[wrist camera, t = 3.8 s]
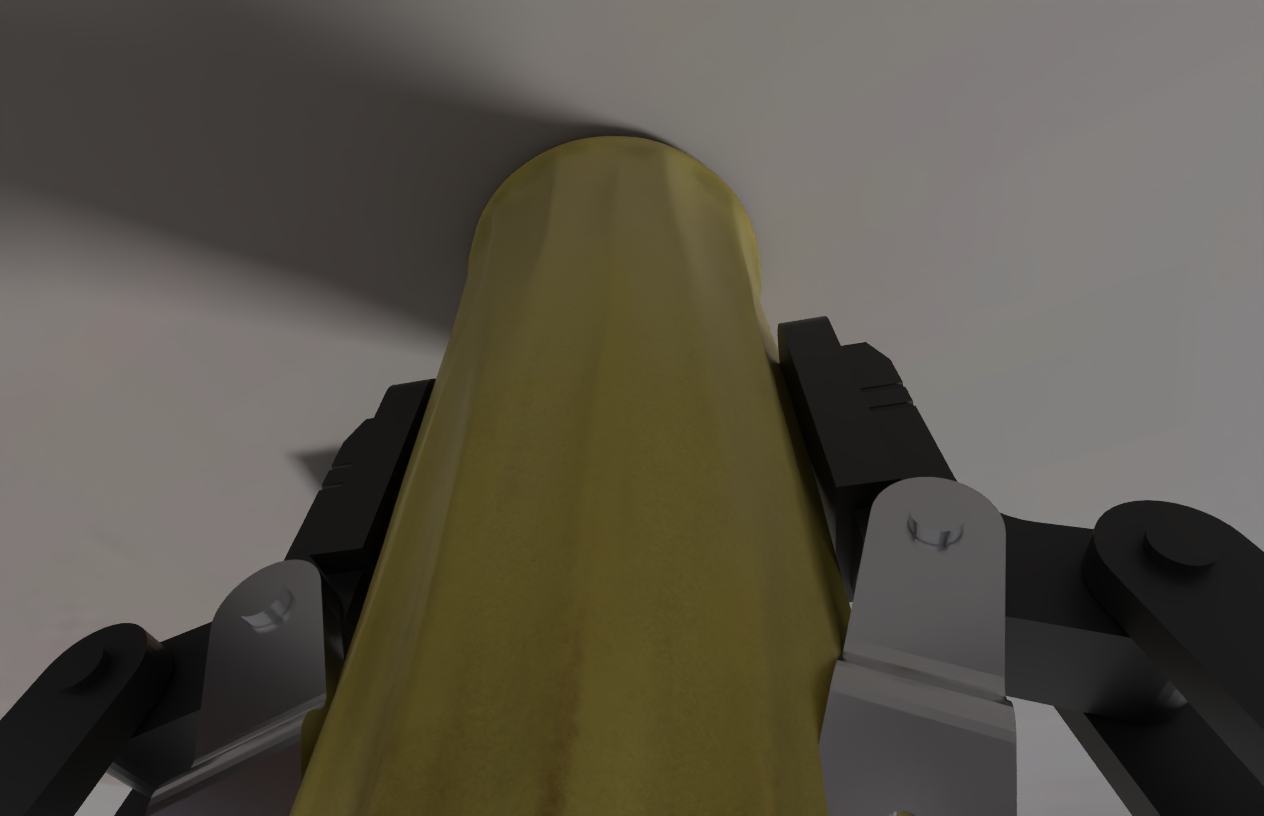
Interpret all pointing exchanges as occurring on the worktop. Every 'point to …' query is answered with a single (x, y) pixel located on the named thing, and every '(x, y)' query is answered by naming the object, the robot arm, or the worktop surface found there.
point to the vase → (597, 528)
